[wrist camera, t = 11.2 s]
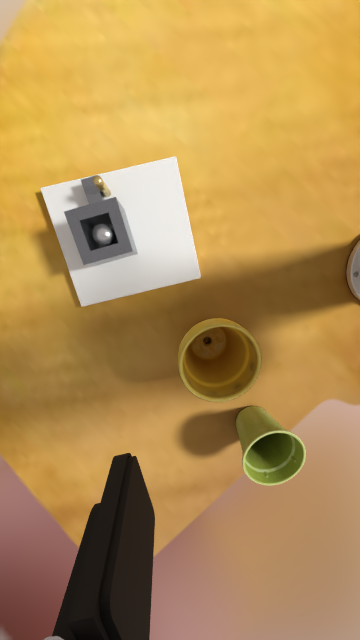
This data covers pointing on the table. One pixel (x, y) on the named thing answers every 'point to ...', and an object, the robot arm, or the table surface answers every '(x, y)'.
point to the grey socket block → (96, 214)
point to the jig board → (147, 230)
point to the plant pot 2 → (268, 448)
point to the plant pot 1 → (218, 360)
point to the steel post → (104, 235)
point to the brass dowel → (101, 185)
